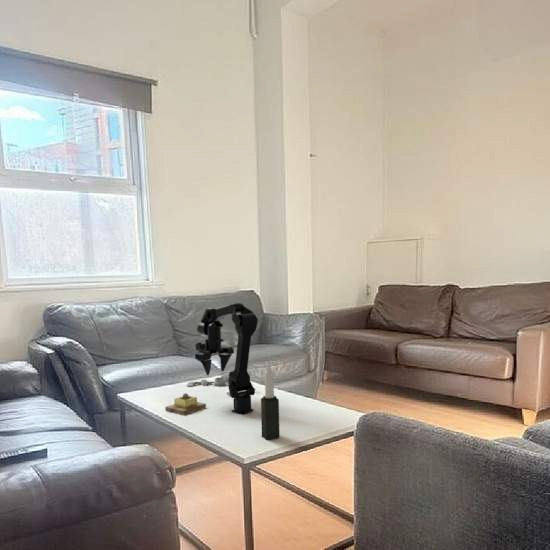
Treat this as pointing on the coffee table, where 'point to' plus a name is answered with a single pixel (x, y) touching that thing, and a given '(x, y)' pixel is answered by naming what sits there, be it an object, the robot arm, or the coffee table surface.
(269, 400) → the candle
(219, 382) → the pulley system
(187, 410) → the brown base plate
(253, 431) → the coffee table surface
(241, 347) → the robot arm
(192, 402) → the brass square frame
